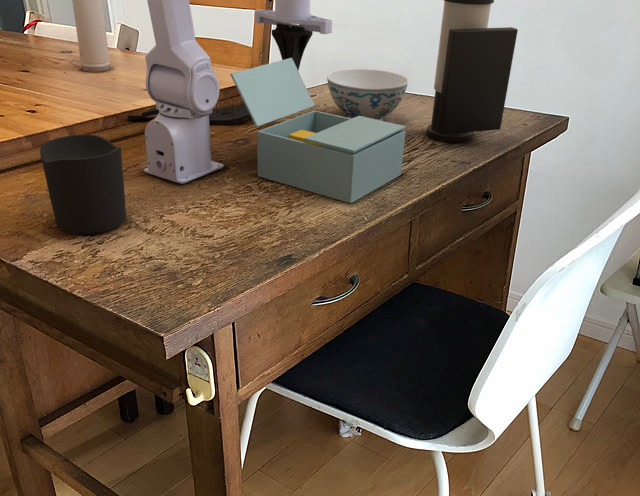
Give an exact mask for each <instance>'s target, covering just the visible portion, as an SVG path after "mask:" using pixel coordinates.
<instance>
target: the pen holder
mask: <svg viewBox="0 0 640 496" xmlns="http://www.w3.org/2000/svg"><path fill="white" fill-rule="evenodd" d="M39 155H40V160H41V164H42V168H43V172H44V178H45V182H46V187H47V190H48V195H49V199H50V203H51V204H50V205H51V209H52V212H53V216H54V220H55V223H56V226H57V227H58V228H59V229H60V230H61V231H62V232H65V233H68V234H71V235H76V236H94V235H101V234H107V233H109V232H112V231H114V230H116V229H118V228H120V227H121V226H122V225H123V224H124V223H125V221H126V218H127V210H126V209H127V208H126V193H125V182H124V181H125V180H124V169H123V155H122V146H117V145H115V144H114V143H113V142H111V141H109V140H108V139H106V138H104V137H103V136H100V135H96V134H72V135H64V136H60V137H55V138H53V139H50V140H48V141H45V142H44V143H42V144H41V146H40V149H39Z"/></svg>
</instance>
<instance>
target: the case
mask: <svg viewBox="0 0 640 496" xmlns="http://www.w3.org/2000/svg"><path fill="white" fill-rule="evenodd" d="M405 129H406V125H402V124H397V123H394V122H389V121H385V120H382V121H381V120H376V119H372V118H367V117H363V116H357V117H355V118H352V119H350V118H347V116H346V117H345V116H341V115H337V114H332V113H329V112H328V113H327V112H323V111H319V110H312V111H309V112H306V113H303V114H300V115H298V116H295V117H292V118H290V119H287V120H284V121H281V122H279V123H276V124H274V125H269V126H267V127H265V128H261V129H260V130H257V131H256V134H257V135H256V137H257V138H256V142H257V143H256V146H257V147H256V151H257V152H256V153H257V154H256V155H257V177H260V178H264V179H267V180H270V181H274V182H277V183H279V184H284V185H287V186H290V187H294V188H297V189H300V190H304V191H307V192H310V193H314V194H318V195H320V196H325V197H327V198H331V199H335V200H338V201H341V202H343V203H344V202H345V203H348V204H352V203H354V202H356V201H358V200H359V199H362V198H363V197H365V196H366V195H368V194H370V193H371V192H374V191H375V190H377V189H379V188H381V187H383V186H384V185H386V184H387V183H389V182H390V181H391V182H392V180H394V179H396V178H398V177H401V175H402V171H403V170H402V169H403V162H404V161H403V160H404V150H405V142H406V133H407V131H406V130H405ZM299 130H305V131H309V132H313V133H315V134H313V135H311V136H308V137H306V138H304V140H305V141H309V142H313V143H317V144H321V145H322V147H320V146H316V145H313V144H309V143H305V142H301V141H297V140H293V139H289V134H292V133H294V132H297V131H299Z"/></svg>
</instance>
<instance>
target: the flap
mask: <svg viewBox="0 0 640 496" xmlns="http://www.w3.org/2000/svg"><path fill="white" fill-rule="evenodd" d="M229 75H230V77H231V79H232V81H233V83H234V85H235V87H236V90H237V91H238V93H239V96H240V97H241V100H243V101H242V102H243V104H245V105H246V107H247V109H248V111H249V113H250V115H251V117H250V118H251V119H252V121H253V123H254V125H255V128H258V127H261V126H264V125H267V124H270V123H272V122H275V121H277V120H280V119H281V120H282V119H283V118H286V117H288V116H291V115H294V114H297V113H299V112H303V111H305V110H308V109H312V108H313V107H315V103H314V101H313V99H312V97H311V94H310V92H309V91H308V88H307V86H306V84H305V82H304V80H303V78H302V76H301V74H300V72H299V71H298V70H297V67H296V65H295V63H294V61H293V59H292V58H289V59H285V60H282V59H281V60H278V61H273V62H270V63H266V64H261V65H259V66H255V67H251V68H248V69H247V68H246V69H243V70H239V71H235V72H231V73H230V74H229Z"/></svg>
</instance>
